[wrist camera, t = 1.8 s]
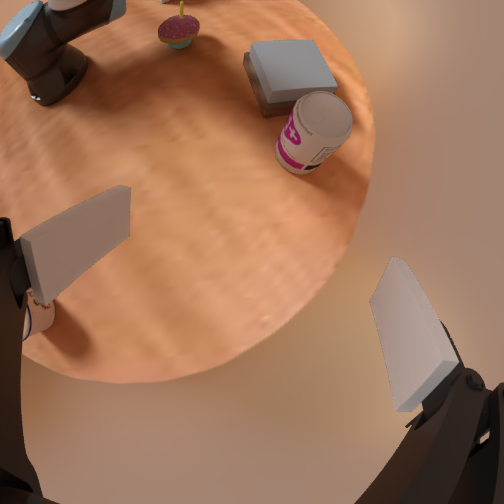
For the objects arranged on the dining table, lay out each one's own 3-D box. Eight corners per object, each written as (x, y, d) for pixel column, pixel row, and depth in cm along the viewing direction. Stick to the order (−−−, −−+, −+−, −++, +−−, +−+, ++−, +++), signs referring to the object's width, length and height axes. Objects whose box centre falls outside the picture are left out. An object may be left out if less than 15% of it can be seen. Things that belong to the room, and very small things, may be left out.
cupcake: (177, 27, 43) (171, -10, 31) (208, 36, 43) (208, -3, 31) (153, 50, 42) (142, 12, 30) (185, 59, 43) (179, 19, 31)
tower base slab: (242, 64, 45) (244, 52, 41) (306, 59, 46) (311, 48, 42) (262, 119, 45) (266, 109, 41) (330, 111, 46) (338, 101, 42)
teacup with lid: (62, 300, 40) (24, 310, 28) (50, 339, 39) (15, 356, 27) (23, 267, 39) (-15, 269, 27) (12, 305, 38) (-24, 313, 26)
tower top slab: (249, 55, 41) (251, 42, 37) (307, 51, 42) (313, 39, 38) (268, 103, 41) (272, 91, 37) (330, 97, 42) (338, 86, 38)
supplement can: (272, 172, 44) (295, 135, 29) (275, 129, 44) (296, 81, 29) (318, 178, 45) (358, 147, 30) (319, 136, 45) (354, 95, 30)
